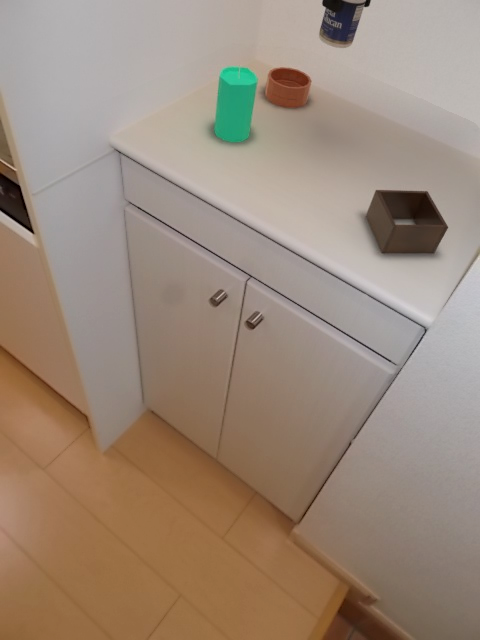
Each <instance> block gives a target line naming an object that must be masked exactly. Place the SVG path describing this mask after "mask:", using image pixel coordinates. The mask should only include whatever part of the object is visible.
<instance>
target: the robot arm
mask: <svg viewBox="0 0 480 640" xmlns="http://www.w3.org/2000/svg"><path fill="white" fill-rule="evenodd" d="M371 2H372V0H366V2H365V5H364V8H369V7H370V6H371ZM341 4H342V0H322V2H321V5H322V7H324V8H325V9H326V8H327V9H329V10H331V11H333V12H334V13H337V12H339V11H340V8H341Z"/></svg>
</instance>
